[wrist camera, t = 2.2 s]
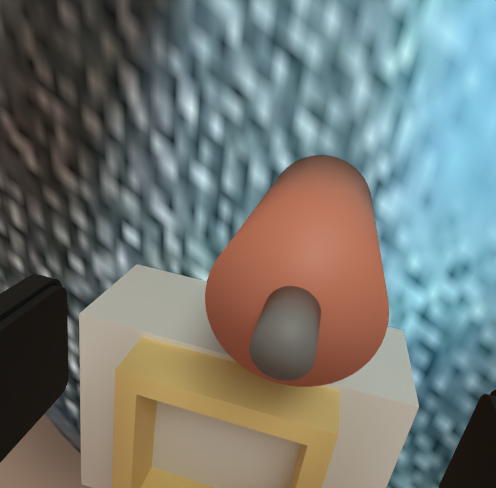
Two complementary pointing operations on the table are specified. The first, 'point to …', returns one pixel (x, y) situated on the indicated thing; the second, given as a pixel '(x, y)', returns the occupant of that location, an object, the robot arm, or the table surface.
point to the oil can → (303, 279)
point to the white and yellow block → (223, 402)
